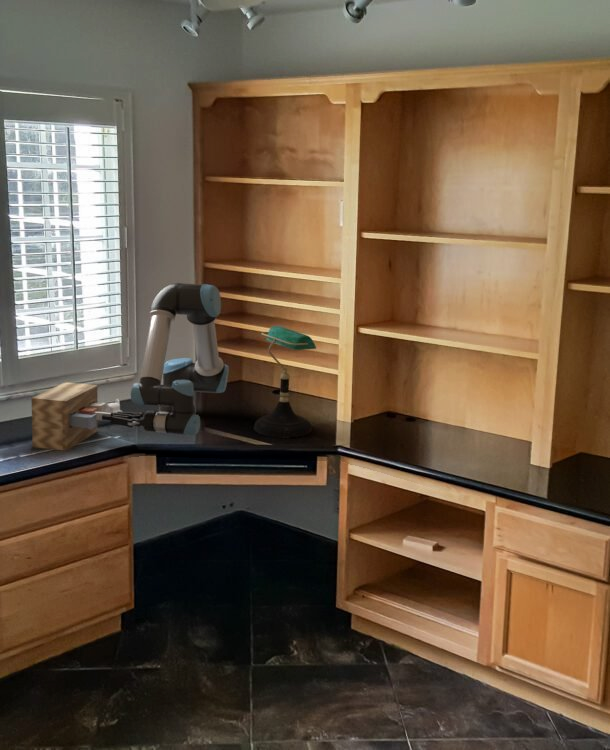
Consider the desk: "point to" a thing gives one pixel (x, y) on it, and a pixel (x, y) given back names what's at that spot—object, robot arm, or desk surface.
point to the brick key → (87, 411)
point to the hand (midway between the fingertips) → (95, 415)
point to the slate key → (82, 420)
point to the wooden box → (61, 415)
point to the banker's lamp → (285, 390)
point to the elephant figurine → (113, 407)
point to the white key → (98, 406)
